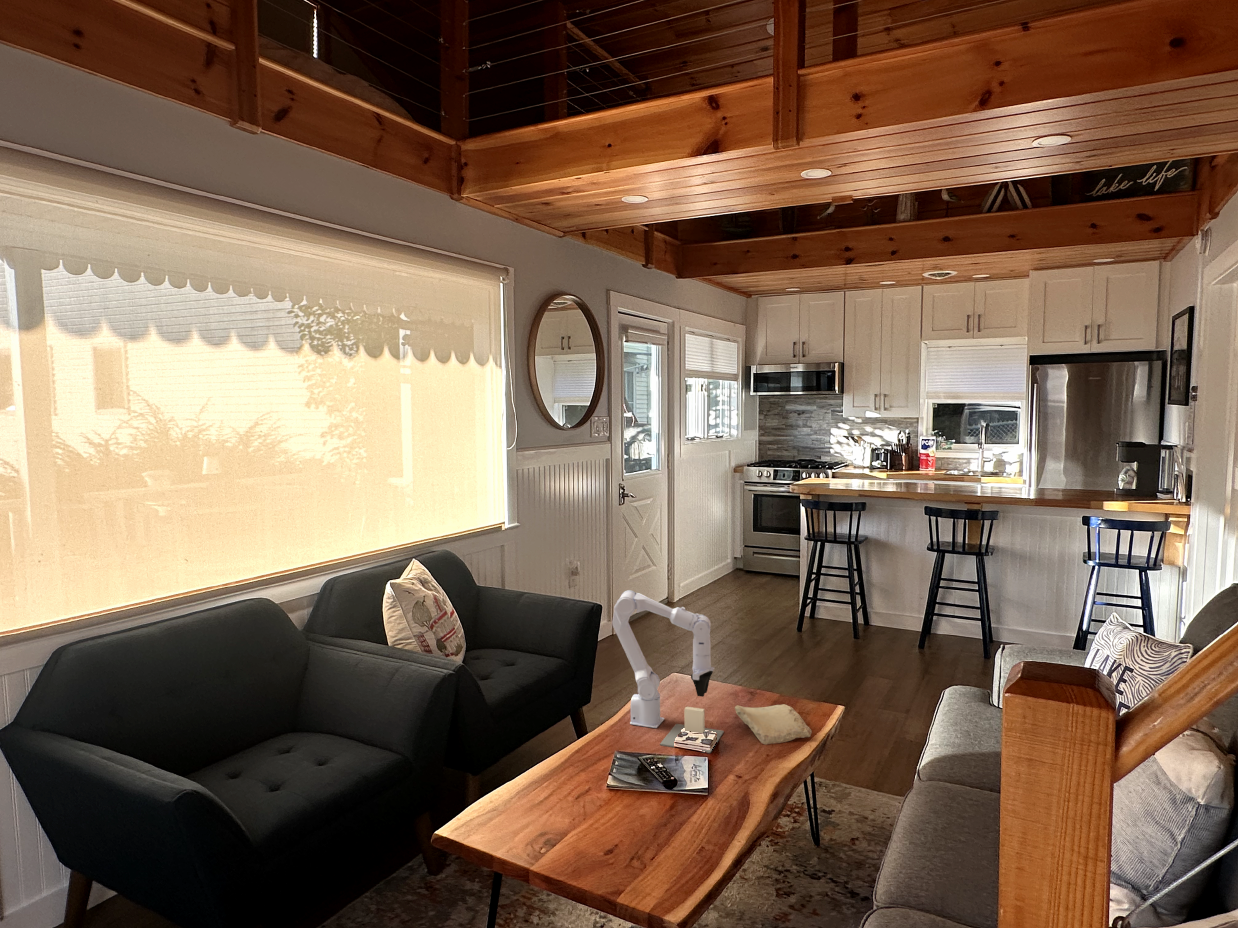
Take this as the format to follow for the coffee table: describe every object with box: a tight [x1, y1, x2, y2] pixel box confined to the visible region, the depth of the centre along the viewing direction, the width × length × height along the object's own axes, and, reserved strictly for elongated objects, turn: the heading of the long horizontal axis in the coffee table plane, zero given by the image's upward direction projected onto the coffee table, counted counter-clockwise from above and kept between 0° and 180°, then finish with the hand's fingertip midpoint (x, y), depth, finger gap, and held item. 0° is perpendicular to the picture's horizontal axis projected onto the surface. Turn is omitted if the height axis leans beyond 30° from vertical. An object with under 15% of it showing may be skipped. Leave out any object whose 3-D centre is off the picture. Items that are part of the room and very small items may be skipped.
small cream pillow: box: [734, 703, 813, 746], centre depth 254 cm, size 24×8×20 cm
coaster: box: [683, 706, 706, 733], centre depth 249 cm, size 6×2×8 cm, turn 68°
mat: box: [659, 723, 725, 754], centre depth 246 cm, size 16×16×1 cm
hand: (702, 694), depth 256 cm, fingers open, 3 cm apart
